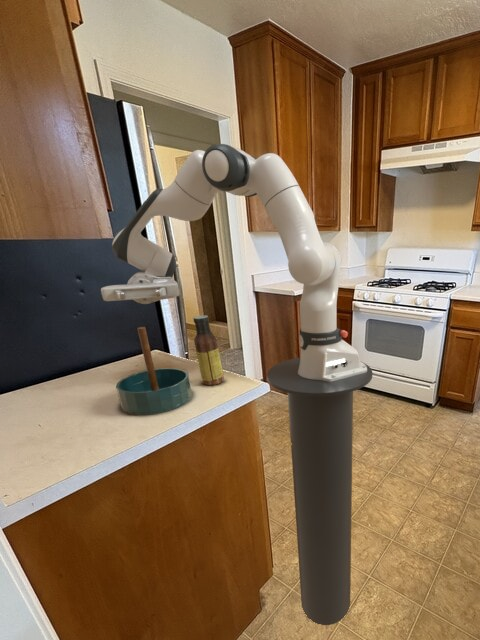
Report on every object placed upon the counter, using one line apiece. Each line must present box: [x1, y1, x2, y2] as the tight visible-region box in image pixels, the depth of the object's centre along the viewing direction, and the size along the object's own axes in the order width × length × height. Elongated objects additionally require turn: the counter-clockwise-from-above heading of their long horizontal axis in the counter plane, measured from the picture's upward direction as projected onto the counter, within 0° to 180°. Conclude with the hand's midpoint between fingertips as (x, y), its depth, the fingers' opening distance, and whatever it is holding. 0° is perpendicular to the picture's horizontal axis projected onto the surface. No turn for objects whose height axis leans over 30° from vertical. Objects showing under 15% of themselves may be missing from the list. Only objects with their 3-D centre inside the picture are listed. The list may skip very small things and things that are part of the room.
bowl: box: [115, 367, 193, 416], centre depth 94 cm, size 17×17×6 cm
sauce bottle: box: [192, 315, 225, 386], centre depth 102 cm, size 7×6×20 cm
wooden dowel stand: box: [137, 326, 159, 391], centre depth 91 cm, size 5×5×19 cm
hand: (140, 294), depth 97 cm, fingers open, 8 cm apart
